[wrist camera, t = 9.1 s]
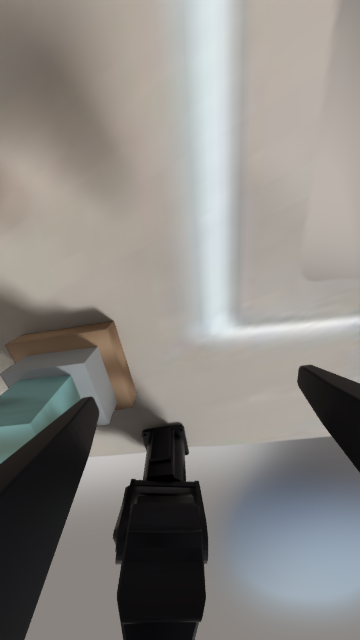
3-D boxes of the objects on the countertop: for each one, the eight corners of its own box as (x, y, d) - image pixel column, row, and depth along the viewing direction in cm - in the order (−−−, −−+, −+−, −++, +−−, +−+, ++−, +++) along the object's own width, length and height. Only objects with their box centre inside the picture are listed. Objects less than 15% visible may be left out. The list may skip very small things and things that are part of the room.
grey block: (117, 401, 21) (108, 424, 19) (54, 409, 22) (37, 433, 19) (97, 346, 19) (84, 363, 16) (25, 356, 19) (-1, 374, 16)
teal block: (87, 413, 18) (56, 469, 13) (39, 418, 18) (-7, 476, 13) (71, 374, 16) (29, 423, 12) (18, 380, 16) (-44, 431, 12)
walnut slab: (137, 389, 25) (132, 407, 22) (63, 400, 25) (49, 418, 22) (115, 319, 21) (106, 329, 18) (27, 332, 21) (4, 345, 18)
